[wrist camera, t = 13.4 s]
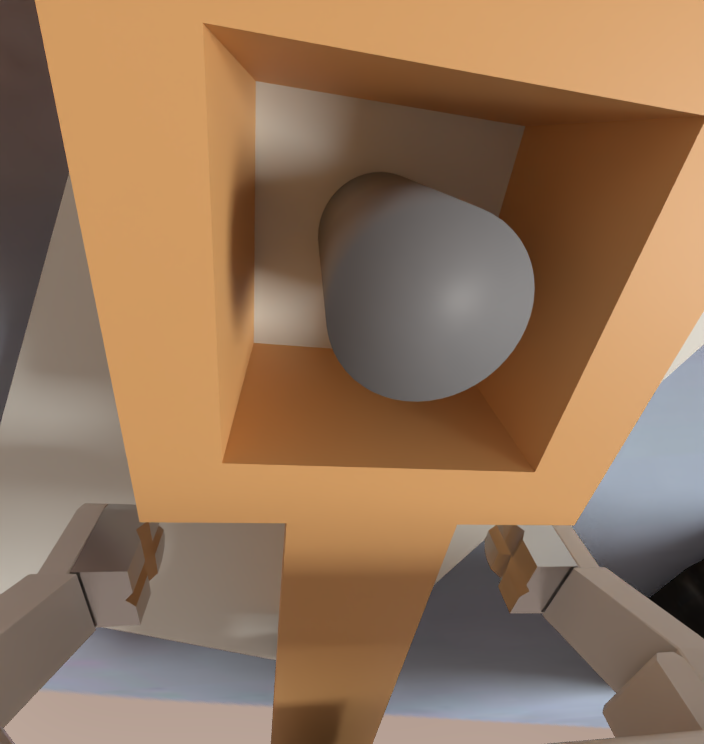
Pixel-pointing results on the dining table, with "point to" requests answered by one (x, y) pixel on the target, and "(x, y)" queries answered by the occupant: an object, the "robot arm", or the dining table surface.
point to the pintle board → (285, 333)
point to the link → (320, 365)
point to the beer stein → (685, 598)
